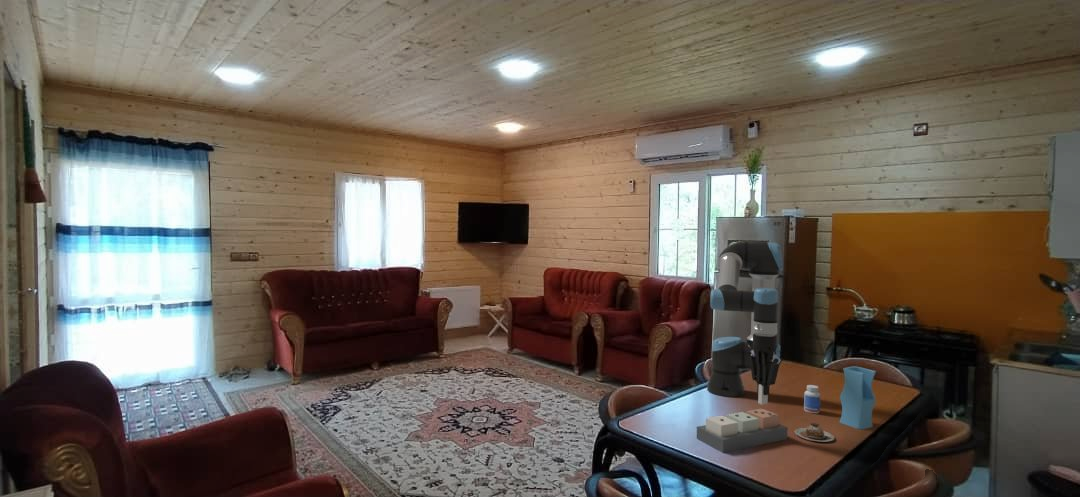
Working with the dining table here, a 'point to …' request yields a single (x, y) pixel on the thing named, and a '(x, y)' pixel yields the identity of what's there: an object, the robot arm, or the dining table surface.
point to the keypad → (742, 438)
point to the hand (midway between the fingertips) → (762, 403)
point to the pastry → (814, 433)
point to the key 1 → (721, 426)
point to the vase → (857, 397)
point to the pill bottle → (812, 399)
